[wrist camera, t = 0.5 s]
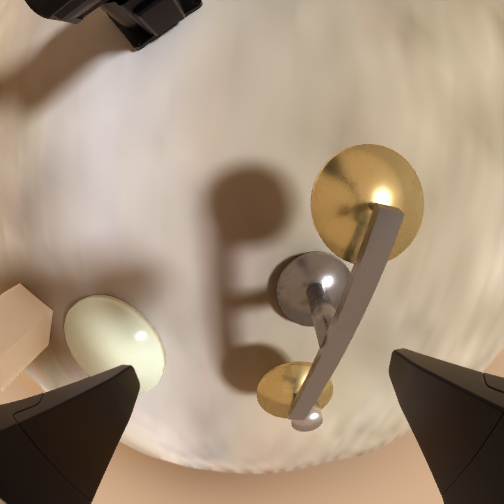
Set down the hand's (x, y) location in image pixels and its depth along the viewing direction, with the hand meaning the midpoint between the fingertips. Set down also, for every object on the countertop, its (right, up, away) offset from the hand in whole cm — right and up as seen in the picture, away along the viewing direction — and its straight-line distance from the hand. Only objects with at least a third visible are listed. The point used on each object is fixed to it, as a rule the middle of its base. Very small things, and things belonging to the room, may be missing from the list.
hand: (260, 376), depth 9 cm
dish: (-14, -5, +16) cm, 22 cm away
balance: (+5, +1, +14) cm, 14 cm away
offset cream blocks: (-25, -3, +16) cm, 30 cm away
